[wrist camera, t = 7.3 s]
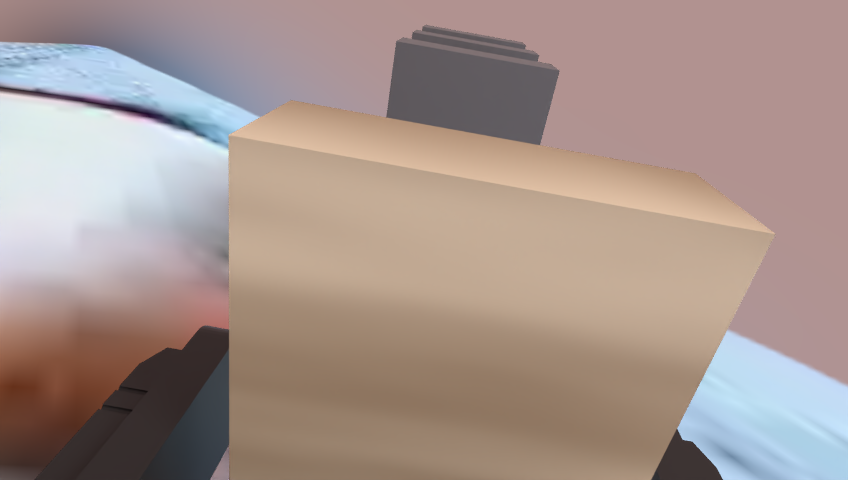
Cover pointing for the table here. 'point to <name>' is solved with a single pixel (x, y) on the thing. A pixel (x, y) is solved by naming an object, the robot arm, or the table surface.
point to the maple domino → (465, 302)
